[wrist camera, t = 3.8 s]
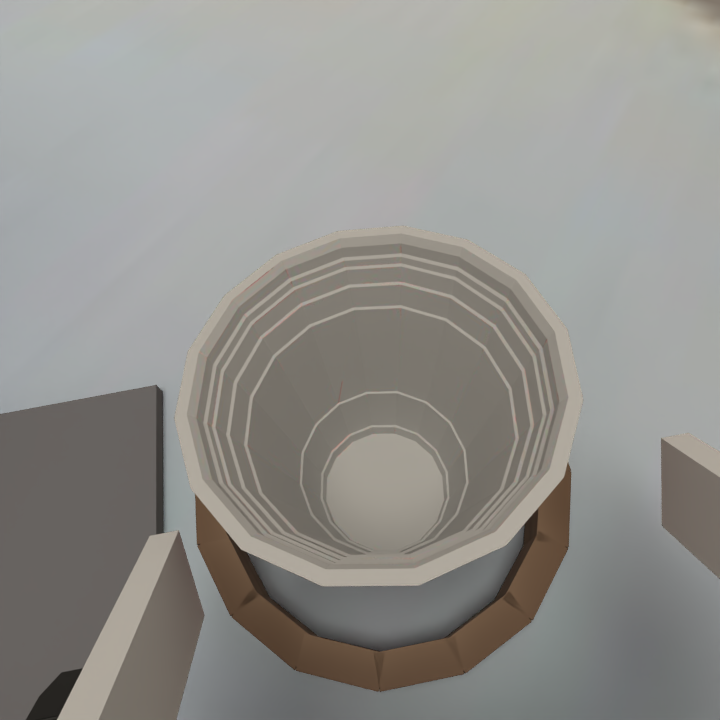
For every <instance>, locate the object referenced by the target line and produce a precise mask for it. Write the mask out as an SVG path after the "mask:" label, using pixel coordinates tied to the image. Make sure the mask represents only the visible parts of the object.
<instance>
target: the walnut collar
mask: <svg viewBox="0 0 720 720" xmlns="http://www.w3.org/2000/svg"><path fill="white" fill-rule="evenodd" d="M570 471H571V469H570V466H569V464H568V463H567V467H566V471H565V475H564V478H563V479H562V480H561V481H560V483H559V484H558V485H557V486H556V487H555V489H554V490H553V491H552V492H551V493H550V494H549V496H548V497H547V498H546V499H545V500H544V501H543V503H542V504H541V505H540V506H539V507H538V509H537V510H536V511H535V512H534V513H533V514H532V516H531V517H530V518H529V519H528V520H527V521H526V523H525V530H524V544H523V547H522V549H521V551H520V553H519V555H518V557H517V559H516V561H515V562H514V564H513V566H512V568H511V570H510V572H509V574H508V576H507V578H506V579H505V581H504V583H503V585H502V587H501V589H500V591H499V593H498V595H497V596H496V598H495V600H494V601H493V602H491V603H490V604H489V605H488V606H486V607H485V608H484V609H482V610H481V611H480V612H478V613H477V614H476V615H474V616H473V617H472V618H470V619H469V620H468V621H466V622H465V623H464V624H462V625H461V626H460V627H458V628H457V629H456V630H455V631H453V632H452V633H451V634H449V635H448V636H447V637H445V638H444V639H439V640H434V641H429V642H425V643H420V644H415V645H410V646H405V647H401V648H396V649H391V650H386V651H381V652H380V651H376V650H372V649H368V648H364V647H360V646H356V645H351V644H347V643H343V642H339V641H335V640H331V639H327V638H323V637H319V636H317V635H316V634H315V633H314V632H312V631H311V630H310V629H309V628H307V627H306V626H305V625H304V624H302V623H301V622H300V621H299V620H297V619H296V618H295V617H294V616H292V615H291V614H290V613H289V612H287V611H286V610H285V609H284V608H282V607H281V606H280V605H279V604H277V603H276V602H275V601H274V600H272V599H271V598H270V597H269V595H268V593H267V591H266V589H265V588H264V586H263V584H262V582H261V580H260V578H259V576H258V574H257V572H256V570H255V568H254V566H253V564H252V562H251V560H250V558H249V556H248V554H247V553H246V552H245V551H243V550H241V549H240V548H239V546H238V545H237V544H236V543H235V541H234V540H233V539H232V538H231V537H230V535H229V534H228V533H227V532H226V531H225V529H224V528H223V527H222V526H221V524H220V523H219V522H218V521H217V520H216V518H215V517H214V516H213V515H212V514H211V512H210V511H209V510H208V509H207V507H206V506H205V505H204V504H203V503H202V501H201V500H200V499H199V498H198V497H197V495H196V494H195V501H196V530H197V545H198V548H199V550H200V553H201V555H202V557H203V559H204V561H205V563H206V565H207V567H208V569H209V572H210V574H211V576H212V578H213V580H214V582H215V584H216V586H217V588H218V591H219V593H220V595H221V597H222V599H223V601H224V603H225V605H226V607H227V610H228V612H229V614H230V616H232V618H233V619H234V620H236V621H237V622H238V623H239V624H240V625H242V626H243V627H244V628H245V629H246V630H247V631H249V632H250V633H251V634H252V635H253V636H255V637H256V638H257V639H258V640H259V641H261V642H262V643H263V644H264V645H265V646H267V647H268V648H269V649H270V650H271V651H272V652H274V653H275V654H276V655H277V656H278V657H280V658H281V659H282V660H283V661H284V662H286V663H287V664H288V665H289V666H290V667H292V668H293V669H294V670H295V669H296V671H299V672H303V673H307V674H311V675H315V676H319V677H323V678H327V679H331V680H335V681H338V682H342V683H346V684H350V685H354V686H358V687H362V688H366V689H370V690H374V691H377V692H378V691H379V689H380V692H381V691H386V690H391V689H395V688H400V687H405V686H410V685H414V684H419V683H424V682H429V681H433V680H438V679H443V678H448V677H453V676H457V675H462V674H464V673H467V672H468V671H469V670H471V669H472V668H473V667H474V666H476V665H477V664H478V663H479V662H481V661H482V660H483V659H485V658H486V657H487V656H488V655H490V654H491V653H492V652H494V651H495V650H496V649H497V648H499V647H500V646H501V645H502V644H504V643H505V642H506V641H508V640H509V639H510V638H511V637H513V636H514V635H515V634H516V633H518V632H519V631H520V630H522V629H523V628H524V627H525V626H527V625H528V624H529V623H531V622H532V621H531V620H533V619H534V617H535V615H536V613H537V611H538V609H539V607H540V605H541V602H542V600H543V598H544V596H545V594H546V592H547V590H548V588H549V586H550V584H551V582H552V580H553V578H554V576H555V574H556V572H557V570H558V568H559V566H560V564H561V562H562V560H563V558H564V556H565V554H566V552H567V550H568V547H569V521H570V492H571V472H570Z"/></svg>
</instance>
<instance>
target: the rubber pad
mask: <svg viewBox="0 0 720 720" xmlns="http://www.w3.org/2000/svg"><path fill="white" fill-rule="evenodd" d="M162 533H163V402H162V391H161V390H160V389H159V387H158V386H157V385H154V386H149V387H143V388H138V389H133V390H127V391H122V392H116V393H111V394H106V395H100V396H95V397H90V398H84V399H79V400H74V401H68V402H63V403H58V404H52V405H47V406H42V407H36V408H31V409H26V410H20V411H15V412H9V413H4V414H0V720H26V718H27V717H28V715H29V713H30V711H31V710H32V708H33V706H34V704H35V703H36V701H37V699H38V697H39V696H40V695H41V694H42V693H43V691H44V690H45V689H46V688H47V687H48V686H49V685H50V684H51V683H52V682H53V681H54V680H55V679H56V678H57V677H58V676H59V674H60V673H61V672H66V671H71V670H76V669H81V668H83V667H84V665H85V663H86V661H87V659H88V657H89V655H90V653H91V651H92V649H93V647H94V645H95V643H96V641H97V639H98V637H99V635H100V633H101V631H102V630H103V628H104V626H105V624H106V622H107V620H108V618H109V616H110V614H111V612H112V610H113V608H114V606H115V604H116V602H117V600H118V598H119V596H120V594H121V592H122V590H123V588H124V586H125V584H126V582H127V580H128V578H129V576H130V574H131V572H132V570H133V568H134V566H135V564H136V562H137V560H138V558H139V556H140V554H141V552H142V550H143V548H144V546H145V544H146V542H147V540H148V538H149V536H152V535H157V534H162Z"/></svg>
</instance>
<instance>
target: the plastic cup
mask: <svg viewBox="0 0 720 720" xmlns="http://www.w3.org/2000/svg"><path fill="white" fill-rule="evenodd" d="M582 403H583V396H582V392H581V387H580V383H579V378H578V374H577V370H576V365H575V361H574V356H573V352H572V347H571V343H570V338H569V334H568V330H567V328H566V327H565V325H564V324H563V323H562V321H561V320H560V319H559V317H558V316H557V315H556V314H555V312H554V311H553V310H552V308H551V307H550V306H549V304H548V303H547V302H546V300H545V299H544V298H543V297H542V295H541V294H540V293H539V291H538V290H537V289H536V287H535V286H534V285H533V283H532V282H531V281H530V280H529V278H528V277H527V276H526V274H524V273H522V272H521V271H519V270H517V269H516V268H514V267H512V266H511V265H509V264H507V263H506V262H504V261H502V260H501V259H499V258H497V257H496V256H494V255H492V254H491V253H489V252H487V251H486V250H484V249H482V248H481V247H479V246H477V245H476V244H474V243H473V242H471V241H469V240H466V239H462V238H457V237H453V236H448V235H443V234H439V233H434V232H430V231H425V230H420V229H416V228H411V227H407V226H394V227H382V228H370V229H358V230H346V231H337V232H334V233H331V234H329V235H326V236H324V237H321V238H318V239H316V240H313V241H311V242H308V243H306V244H303V245H300V246H298V247H295V248H293V249H290V250H287V251H285V252H282V253H280V254H277V255H275V256H274V257H273V258H271V259H270V260H269V261H268V262H266V263H265V264H264V265H263V266H261V267H260V268H259V269H257V270H256V271H255V272H254V273H252V274H251V275H250V276H248V277H247V278H246V279H245V280H243V281H242V282H241V283H240V284H238V285H237V286H236V287H234V288H233V289H232V290H231V291H229V292H228V293H227V294H226V295H224V297H223V298H222V300H221V301H220V303H219V304H218V306H217V307H216V309H215V310H214V312H213V313H212V315H211V317H210V318H209V320H208V321H207V323H206V324H205V326H204V327H203V329H202V330H201V332H200V333H199V335H198V336H197V338H196V340H195V341H194V343H193V344H192V346H191V347H190V349H189V350H188V353H187V358H186V363H185V368H184V373H183V378H182V382H181V387H180V392H179V397H178V402H177V407H176V412H175V417H174V419H175V423H176V428H177V432H178V436H179V441H180V445H181V449H182V453H183V458H184V462H185V466H186V471H187V475H188V479H189V484H190V488H191V489H192V491H193V492H194V493H195V494H196V495H197V497H198V498H199V499H200V500H201V501H202V503H203V504H204V505H205V506H206V507H207V509H208V510H209V511H210V512H211V514H212V515H213V516H214V517H215V518H216V520H217V521H218V522H219V523H220V524H221V526H222V527H223V528H224V529H225V531H226V532H227V533H228V534H229V535H230V537H231V538H232V539H233V540H234V541H235V543H236V544H237V545H238V546H239V548H240V549H241V550H243V551H245V552H248V553H250V554H252V555H254V556H257V557H259V558H261V559H263V560H265V561H268V562H270V563H272V564H274V565H276V566H279V567H281V568H283V569H285V570H287V571H290V572H292V573H294V574H296V575H298V576H301V577H303V578H305V579H307V580H310V581H312V582H314V583H316V584H318V585H321V586H419V585H421V584H423V583H425V582H428V581H430V580H432V579H434V578H436V577H438V576H441V575H443V574H445V573H447V572H449V571H451V570H454V569H456V568H458V567H460V566H462V565H465V564H467V563H469V562H471V561H473V560H475V559H478V558H480V557H482V556H484V555H486V554H489V553H491V552H493V551H495V550H497V549H499V548H502V547H504V546H506V545H507V544H508V543H509V541H510V540H511V539H512V538H513V537H514V536H515V534H516V533H517V532H518V531H519V530H520V529H521V527H522V526H523V525H524V524H525V523H526V521H527V520H528V519H529V518H530V517H531V516H532V514H533V513H534V512H535V511H536V510H537V509H538V507H539V506H540V505H541V504H542V503H543V501H544V500H545V499H546V498H547V497H548V496H549V494H550V493H551V492H552V491H553V490H554V489H555V487H556V486H557V485H558V484H559V483H560V481H561V480H562V479H563V478H564V475H565V471H566V467H567V463H568V459H569V455H570V451H571V447H572V443H573V439H574V435H575V431H576V427H577V423H578V419H579V415H580V411H581V407H582Z"/></svg>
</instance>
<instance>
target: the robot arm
mask: <svg viewBox="0 0 720 720" xmlns="http://www.w3.org/2000/svg"><path fill="white" fill-rule="evenodd" d="M661 481H662V526H663V527H664V528H665V529H666V530H667V531H668V532H669V533H670V534H671V535H672V536H674V537H675V538H676V539H677V540H678V541H679V542H680V543H681V544H682V545H683V546H684V547H685V548H687V549H688V550H689V551H690V552H691V553H692V554H693V555H694V556H695V557H696V558H697V559H699V560H700V561H701V562H702V563H703V564H704V565H705V566H706V567H707V568H708V569H709V570H711V571H712V572H713V573H714V574H715V575H716V576H717V577H718V578H719V579H720V452H719V451H718V450H716V449H714V448H713V447H711V446H709V445H708V444H706V443H704V442H703V441H701V440H699V439H698V438H696V437H694V436H693V435H691V434H689V433H686V434H680V435H675V436H670V437H665V438H661ZM203 619H204V612H203V609H202V605H201V602H200V599H199V596H198V592H197V589H196V586H195V582H194V579H193V576H192V572H191V569H190V566H189V563H188V559H187V556H186V553H185V549H184V546H183V543H182V539H181V536H180V533H179V530H178V531H173V532H167V533H162V534H157V535H152V536H149V538H148V540H147V542H146V544H145V546H144V548H143V550H142V552H141V554H140V556H139V558H138V560H137V562H136V564H135V566H134V568H133V570H132V572H131V574H130V576H129V578H128V580H127V582H126V584H125V586H124V588H123V590H122V592H121V594H120V596H119V598H118V600H117V602H116V604H115V606H114V608H113V610H112V612H111V614H110V616H109V618H108V620H107V622H106V624H105V626H104V628H103V630H102V631H101V633H100V635H99V637H98V639H97V641H96V643H95V645H94V647H93V649H92V651H91V653H90V655H89V657H88V659H87V661H86V663H85V665H84V667H83V668H81V669H76V670H71V671H66V672H61V673H60V674H59V676H58V677H57V678H56V679H55V680H54V681H53V682H52V683H51V684H50V685H49V686H48V687H47V688H46V689H45V690H44V691H43V693H42V694H41V695H40V696H39V697H38V699H37V701H36V703H35V704H34V706H33V708H32V710H31V711H30V713H29V715H28V717H27V718H26V720H176V719H177V715H178V711H179V707H180V704H181V700H182V696H183V693H184V689H185V685H186V682H187V678H188V674H189V671H190V667H191V663H192V660H193V656H194V652H195V649H196V645H197V641H198V638H199V634H200V630H201V627H202V623H203Z"/></svg>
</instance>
